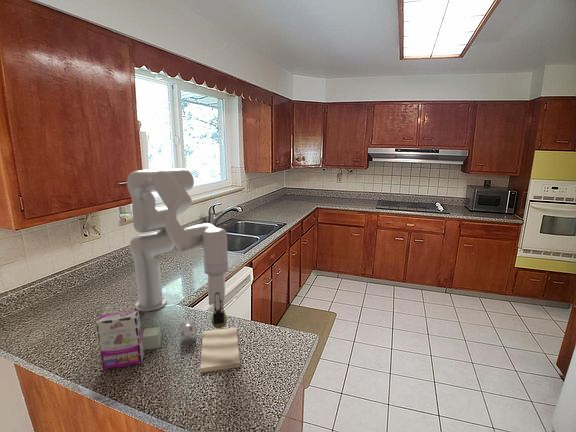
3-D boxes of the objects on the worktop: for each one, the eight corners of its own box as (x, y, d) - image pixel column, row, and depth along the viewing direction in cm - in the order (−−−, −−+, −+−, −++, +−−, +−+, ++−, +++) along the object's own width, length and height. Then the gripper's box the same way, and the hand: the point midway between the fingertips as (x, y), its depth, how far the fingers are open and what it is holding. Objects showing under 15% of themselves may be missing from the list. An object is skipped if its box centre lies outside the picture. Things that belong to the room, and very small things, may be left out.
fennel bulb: (223, 331, 101) (221, 297, 98) (208, 329, 102) (206, 296, 99) (229, 321, 106) (227, 289, 104) (215, 320, 107) (213, 288, 105)
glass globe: (181, 336, 113) (180, 321, 112) (196, 335, 114) (195, 320, 113) (180, 345, 108) (179, 329, 107) (195, 343, 109) (194, 327, 108)
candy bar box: (144, 354, 103) (139, 309, 100) (142, 364, 99) (136, 317, 95) (107, 360, 100) (100, 314, 97) (102, 370, 96) (95, 322, 92)
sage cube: (146, 341, 111) (145, 328, 109) (161, 339, 112) (160, 326, 111) (143, 350, 106) (142, 336, 105) (159, 348, 107) (157, 335, 106)
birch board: (203, 334, 114) (203, 331, 114) (236, 330, 117) (236, 327, 116) (200, 372, 95) (200, 368, 95) (240, 366, 98) (240, 362, 97)
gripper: (205, 258, 107) (207, 306, 111) (202, 278, 90) (206, 333, 94) (227, 256, 109) (229, 304, 112) (229, 276, 92) (231, 330, 96)
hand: (218, 317), depth 103 cm, fingers closed on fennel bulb, 6 cm apart
